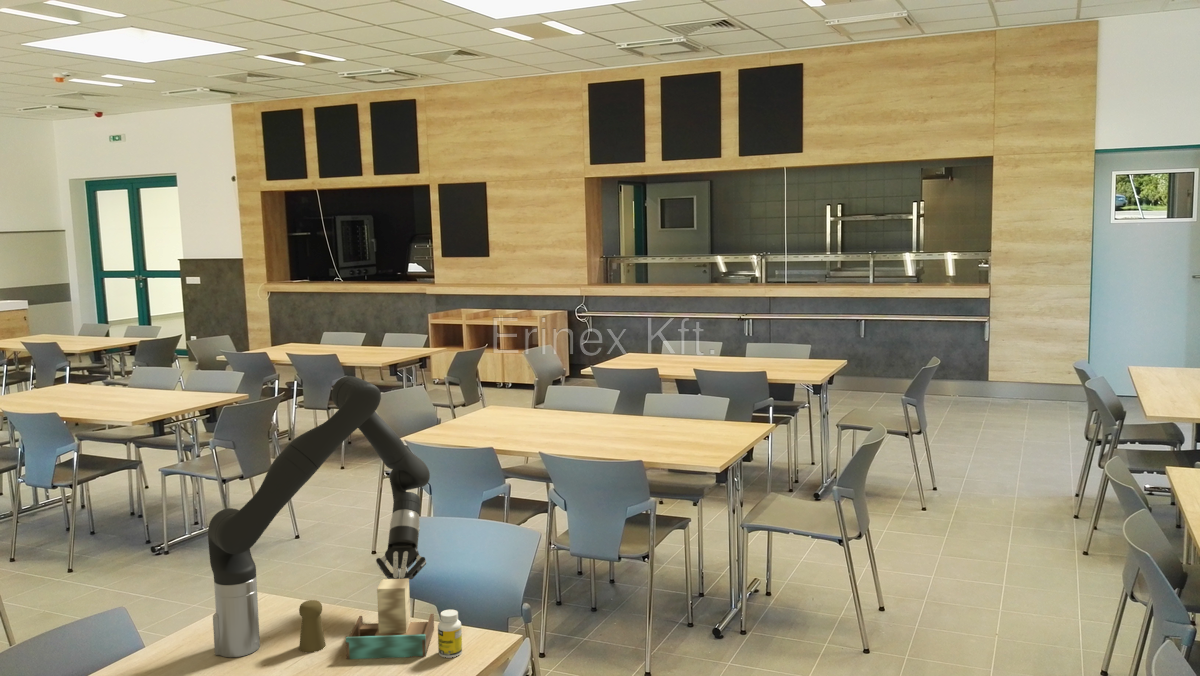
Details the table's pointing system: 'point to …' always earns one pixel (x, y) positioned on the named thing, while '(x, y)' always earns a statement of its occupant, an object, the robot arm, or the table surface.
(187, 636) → the table surface
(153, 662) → the table surface
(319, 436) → the robot arm
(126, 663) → the table surface
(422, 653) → the trap lane
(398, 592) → the maple block
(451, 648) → the supplement bottle
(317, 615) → the olive pawn
